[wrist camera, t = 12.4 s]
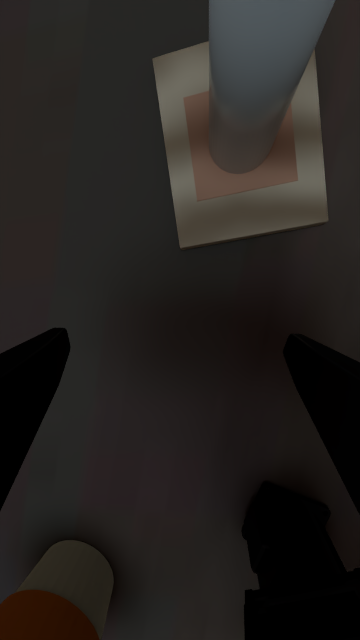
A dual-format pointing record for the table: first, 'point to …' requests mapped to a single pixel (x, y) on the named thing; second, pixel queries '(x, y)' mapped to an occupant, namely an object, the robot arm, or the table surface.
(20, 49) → the table surface
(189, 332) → the table surface
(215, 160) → the grey flared tumbler
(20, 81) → the table surface
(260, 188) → the beige flat rectangular panel
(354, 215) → the table surface
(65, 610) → the reusable coffee cup
